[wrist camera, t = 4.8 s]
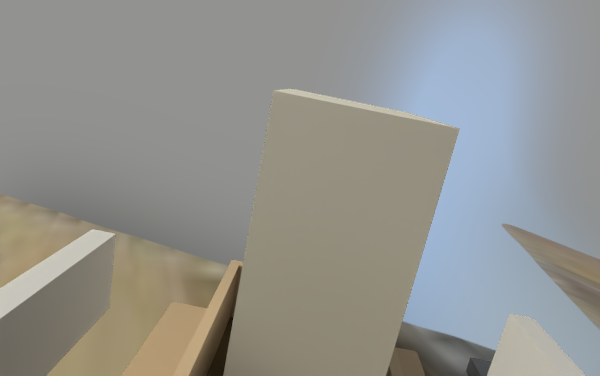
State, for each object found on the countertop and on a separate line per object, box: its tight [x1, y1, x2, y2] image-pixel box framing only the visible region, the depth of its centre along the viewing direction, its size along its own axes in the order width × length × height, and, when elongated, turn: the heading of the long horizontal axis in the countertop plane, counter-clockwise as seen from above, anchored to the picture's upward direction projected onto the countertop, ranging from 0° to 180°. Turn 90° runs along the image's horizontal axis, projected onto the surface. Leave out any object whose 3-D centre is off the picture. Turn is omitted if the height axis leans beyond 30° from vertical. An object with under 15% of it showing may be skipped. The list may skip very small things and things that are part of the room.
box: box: [223, 89, 459, 376], centre depth 19 cm, size 6×8×16 cm
